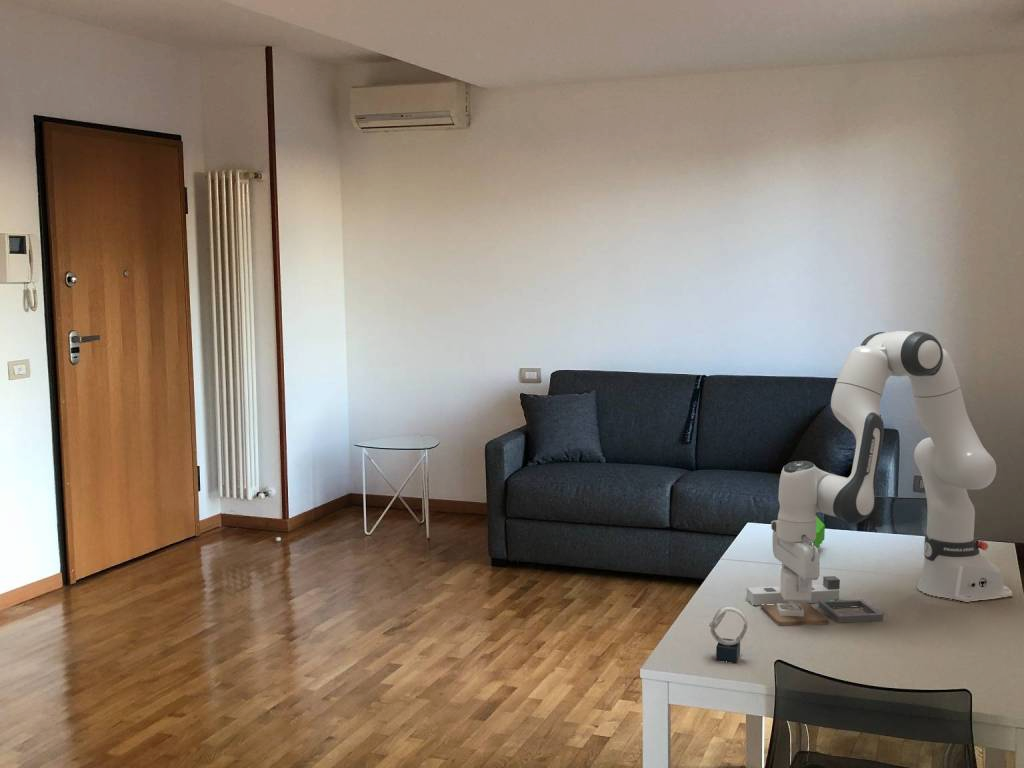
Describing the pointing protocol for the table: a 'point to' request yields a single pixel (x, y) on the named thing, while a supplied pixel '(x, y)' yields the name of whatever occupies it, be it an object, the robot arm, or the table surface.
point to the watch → (727, 647)
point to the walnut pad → (809, 616)
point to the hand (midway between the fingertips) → (794, 587)
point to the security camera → (792, 594)
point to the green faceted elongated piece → (819, 533)
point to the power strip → (774, 596)
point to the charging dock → (872, 615)
